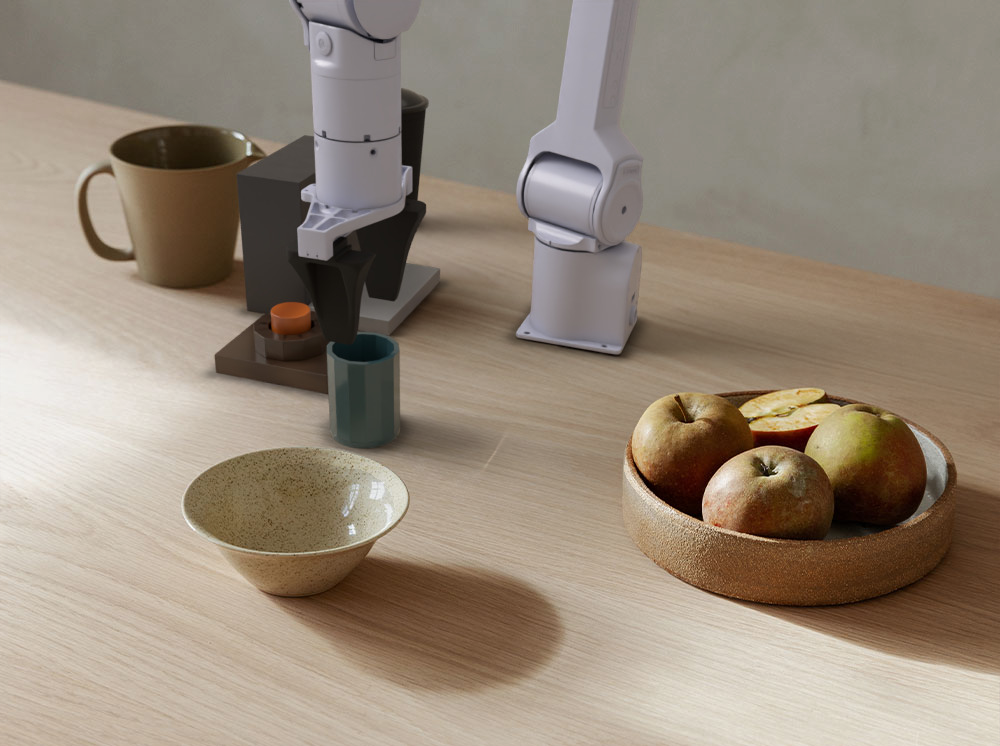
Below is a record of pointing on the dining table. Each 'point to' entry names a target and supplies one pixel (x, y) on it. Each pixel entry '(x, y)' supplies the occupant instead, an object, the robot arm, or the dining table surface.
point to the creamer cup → (364, 390)
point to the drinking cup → (412, 134)
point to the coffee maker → (273, 225)
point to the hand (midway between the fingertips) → (362, 318)
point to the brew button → (291, 318)
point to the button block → (277, 356)
